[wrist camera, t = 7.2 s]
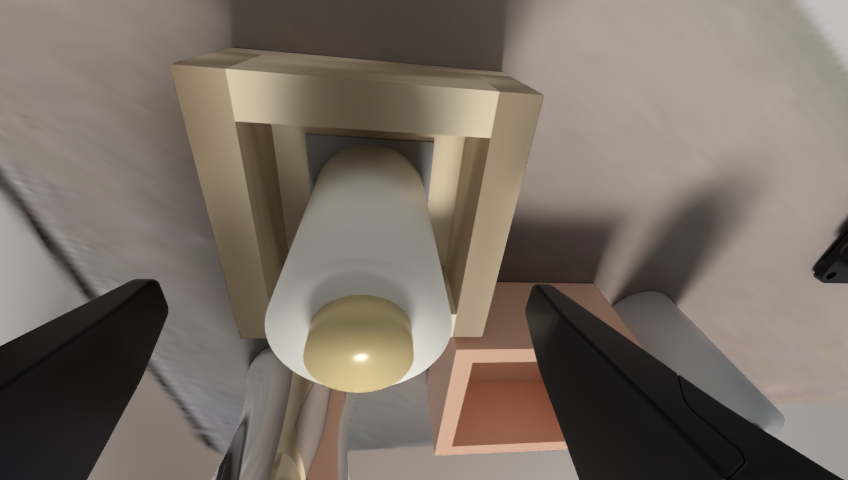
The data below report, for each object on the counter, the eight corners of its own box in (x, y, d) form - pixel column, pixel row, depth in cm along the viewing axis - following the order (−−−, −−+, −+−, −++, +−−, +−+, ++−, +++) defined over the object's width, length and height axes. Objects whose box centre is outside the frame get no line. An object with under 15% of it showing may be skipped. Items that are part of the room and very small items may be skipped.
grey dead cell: (684, 291, 20) (825, 425, 13) (652, 341, 22) (761, 477, 15) (616, 290, 19) (729, 429, 13) (591, 342, 21) (677, 482, 15)
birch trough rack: (501, 72, 13) (544, 95, 9) (463, 273, 17) (482, 336, 14) (231, 47, 12) (169, 64, 8) (269, 270, 16) (240, 338, 13)
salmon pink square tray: (594, 283, 19) (642, 347, 15) (550, 380, 23) (580, 448, 19) (441, 281, 18) (456, 349, 14) (426, 383, 22) (434, 455, 18)
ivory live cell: (428, 147, 13) (472, 283, 6) (419, 241, 15) (444, 413, 9) (312, 140, 12) (236, 280, 6) (319, 239, 14) (269, 419, 8)
